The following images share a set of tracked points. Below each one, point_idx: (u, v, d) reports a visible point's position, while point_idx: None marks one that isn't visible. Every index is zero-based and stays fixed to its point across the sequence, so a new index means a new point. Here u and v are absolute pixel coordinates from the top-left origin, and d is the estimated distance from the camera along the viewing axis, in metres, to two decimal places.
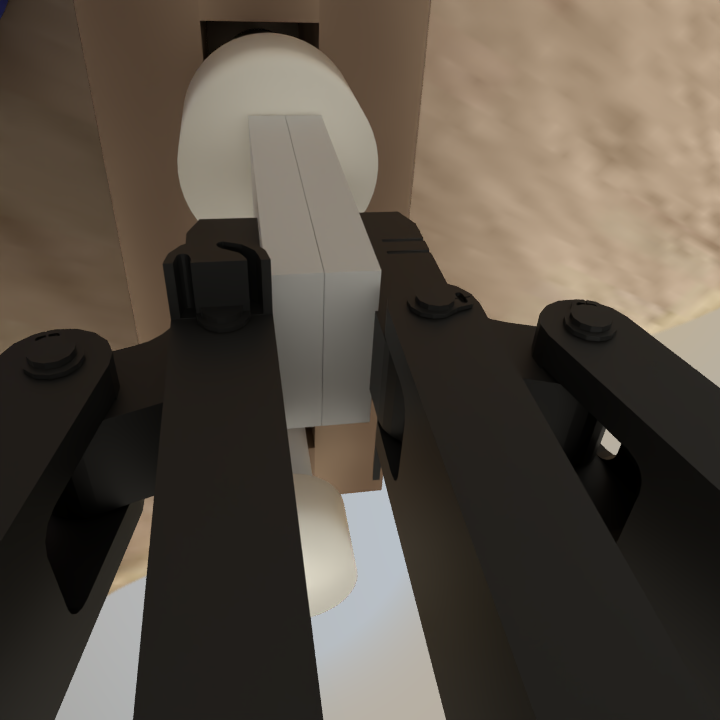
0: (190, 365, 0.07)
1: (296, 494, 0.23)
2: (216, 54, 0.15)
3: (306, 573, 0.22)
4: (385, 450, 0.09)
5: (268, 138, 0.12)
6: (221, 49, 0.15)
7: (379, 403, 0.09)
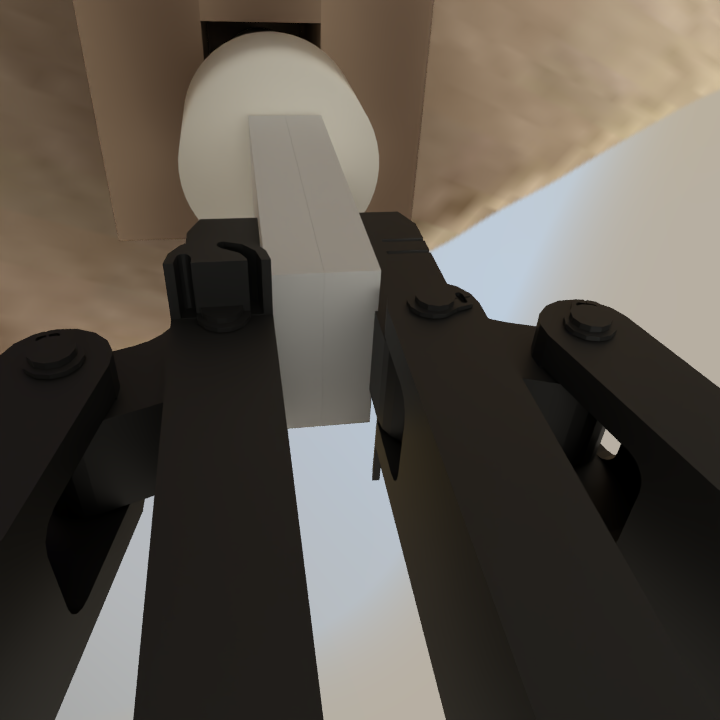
0: (190, 365, 0.07)
1: (286, 42, 0.15)
2: None
3: None
4: (385, 450, 0.09)
5: (268, 138, 0.12)
6: None
7: (379, 402, 0.09)
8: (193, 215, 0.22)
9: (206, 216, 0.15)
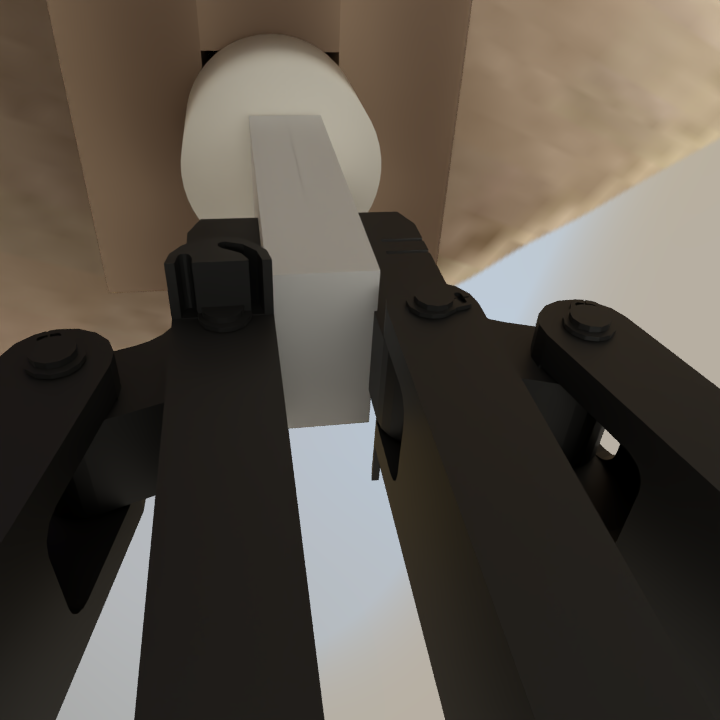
0: (191, 365, 0.07)
1: (289, 44, 0.15)
2: None
3: None
4: (384, 450, 0.09)
5: (269, 138, 0.12)
6: None
7: (377, 402, 0.09)
8: None
9: (208, 218, 0.15)
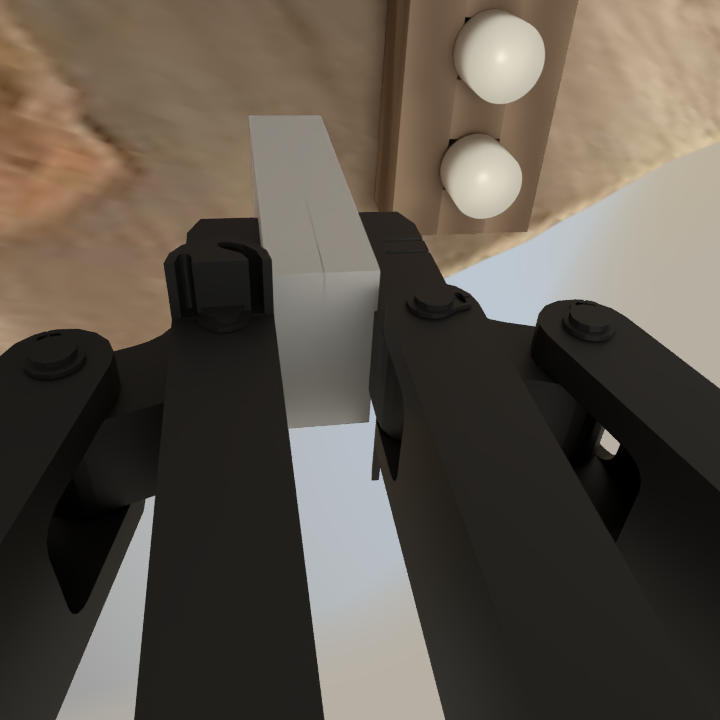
0: (191, 364, 0.07)
1: (488, 139, 0.41)
2: None
3: (496, 177, 0.40)
4: (384, 450, 0.09)
5: (268, 138, 0.12)
6: None
7: (378, 403, 0.09)
8: (427, 224, 0.45)
9: (458, 202, 0.41)
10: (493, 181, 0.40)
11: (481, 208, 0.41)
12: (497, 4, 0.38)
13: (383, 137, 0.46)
